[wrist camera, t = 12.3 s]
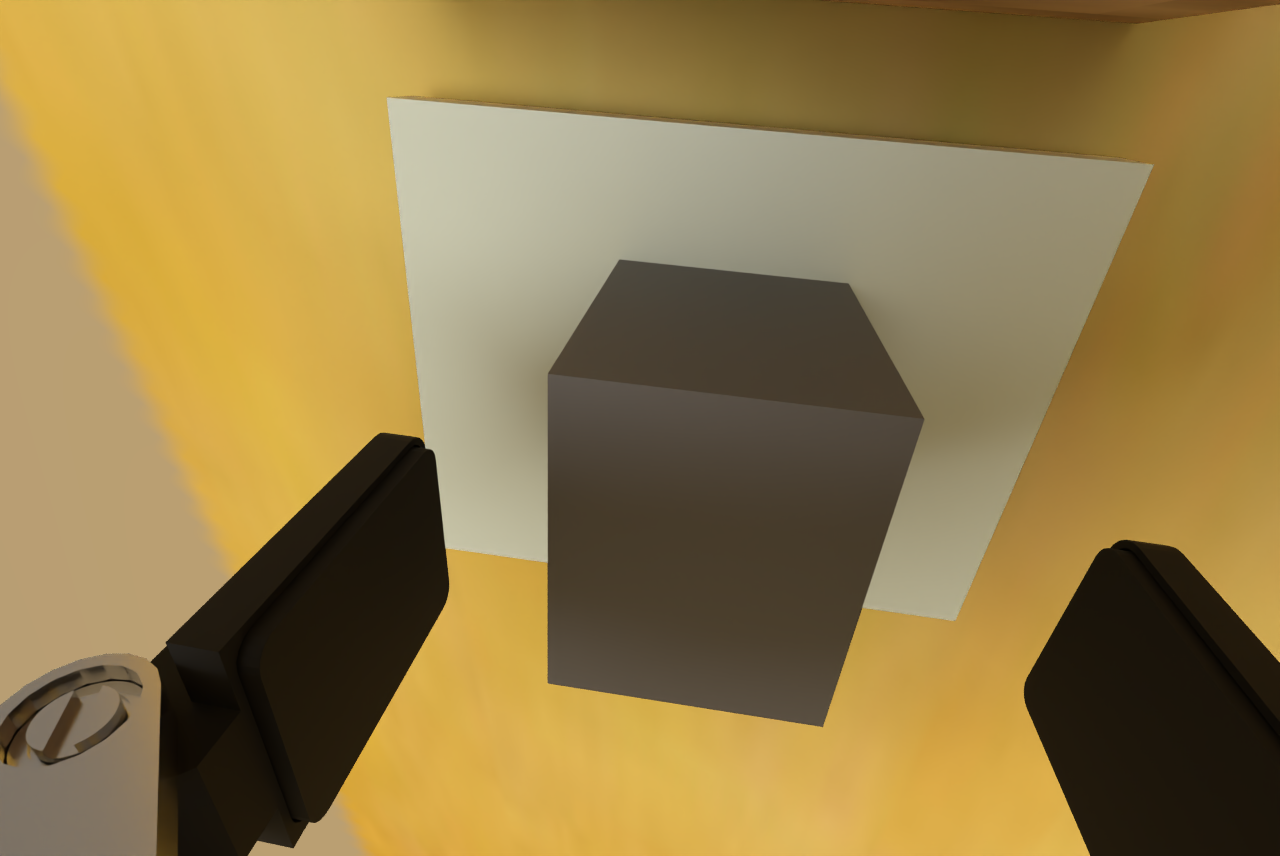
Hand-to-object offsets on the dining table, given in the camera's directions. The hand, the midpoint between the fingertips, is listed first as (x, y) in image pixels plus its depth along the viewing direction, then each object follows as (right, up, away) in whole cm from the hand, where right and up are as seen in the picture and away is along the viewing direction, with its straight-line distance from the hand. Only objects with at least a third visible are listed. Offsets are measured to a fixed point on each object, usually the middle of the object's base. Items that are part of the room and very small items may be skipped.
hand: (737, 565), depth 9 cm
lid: (0, +3, +7) cm, 7 cm away
